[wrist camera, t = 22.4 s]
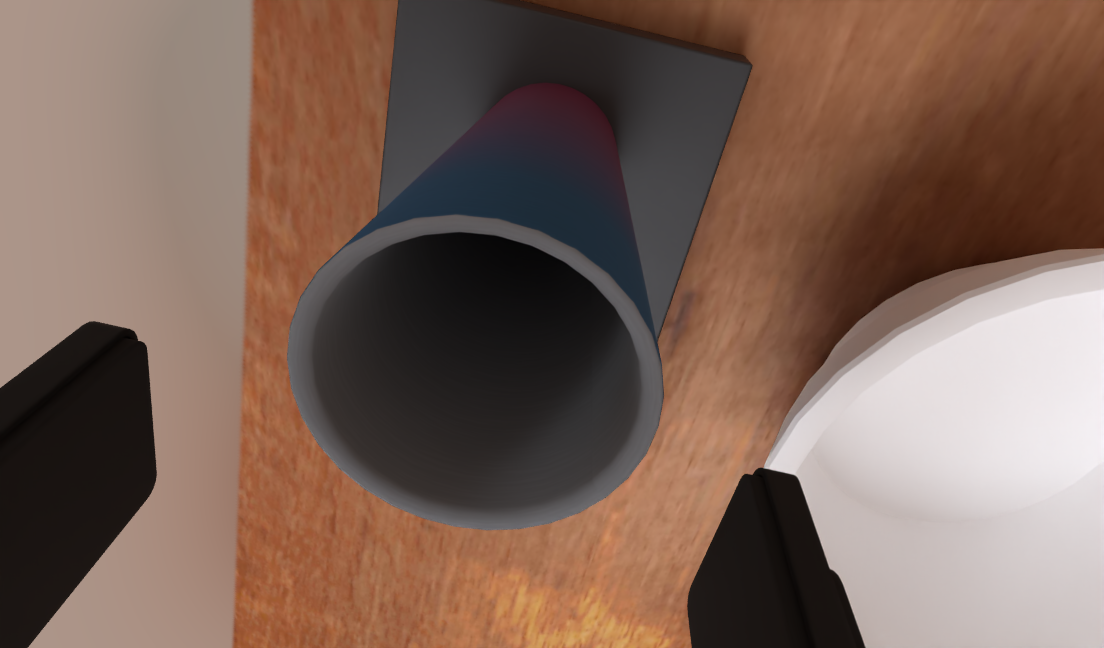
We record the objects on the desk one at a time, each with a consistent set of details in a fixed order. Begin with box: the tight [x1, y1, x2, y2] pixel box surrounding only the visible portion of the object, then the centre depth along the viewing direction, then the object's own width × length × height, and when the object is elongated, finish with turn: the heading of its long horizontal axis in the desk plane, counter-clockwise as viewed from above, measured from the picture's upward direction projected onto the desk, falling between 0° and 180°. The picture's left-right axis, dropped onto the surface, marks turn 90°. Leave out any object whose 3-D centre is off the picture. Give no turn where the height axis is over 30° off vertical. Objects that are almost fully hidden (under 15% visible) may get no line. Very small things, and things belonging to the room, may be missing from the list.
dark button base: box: [377, 0, 752, 341], centre depth 28 cm, size 18×12×4 cm, turn 168°
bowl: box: [764, 248, 1104, 648], centre depth 28 cm, size 21×21×8 cm
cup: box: [287, 83, 664, 530], centre depth 19 cm, size 7×7×15 cm
